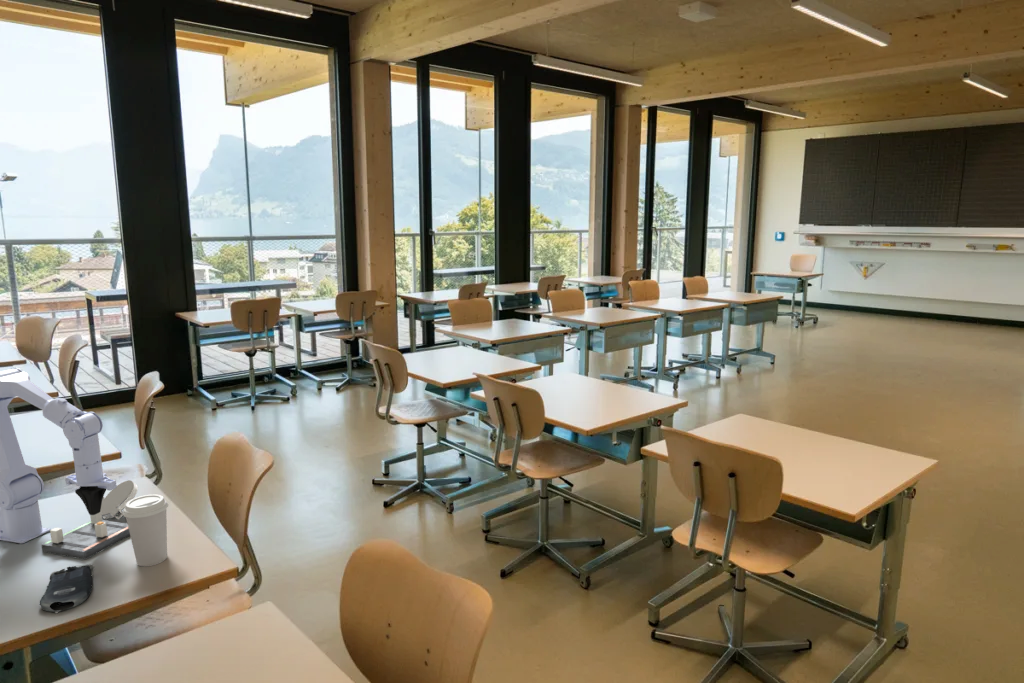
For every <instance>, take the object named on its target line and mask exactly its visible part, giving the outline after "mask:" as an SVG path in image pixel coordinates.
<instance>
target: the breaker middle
mask: <svg viewBox="0 0 1024 683" xmlns="http://www.w3.org/2000/svg"><path fill="white" fill-rule="evenodd" d="M95 532H96V537H104V536H106V535H108V534H107V526H106V523H104V522H98V523H97V524H95Z"/></svg>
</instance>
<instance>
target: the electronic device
mask: <svg viewBox="0 0 1024 683" xmlns="http://www.w3.org/2000/svg"><path fill="white" fill-rule="evenodd" d="M95 567H96V566H94V564H91V563H90V564H85V565H80V566H77V565H73V566H67V567H66V568H61V569H60V570H58V571H52V572H51V573H50V575H49V582H48V585H47V586H46V589H45V592H44V594H43V595H42V597H41V599H40V600H39V606H40V608H41V609H42V610H43V611H46V612H51V613H52V612H54V613H55V614H58V613H59V612H62V611H66V610H70V609H72V608H75V607H77V606H79V605H80V604H82V603H84V602H85V601H87V599H88V598H89V596H90V595H91V593H92V591H93V585H94V582H93V580H94V579H93V578H94V577H93V573H94V571H95ZM54 603H55V606H57V607H65V606H68V605H70V604H73V605H72V606H70V607H68V608H65V609H63V610H62V609H59V610H58V609H57V610H55V609H52V608H51V607H50V606H51V605H52V604H54Z"/></svg>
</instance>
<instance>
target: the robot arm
mask: <svg viewBox="0 0 1024 683" xmlns="http://www.w3.org/2000/svg"><path fill="white" fill-rule="evenodd" d="M17 397H18V398H20V399H22V400H24V401H25V402H27V403H29V404H31V405H32V406H34V407H36V408H38V409H40V410H42V416H43V417H44V418H45V419H46V420H48V421H50V423H53V424H55V425H56V426H57V427H59V428H60V429H62V432H63V435H64V436H65V438H66V439H67V441H68V445H69V447H70V448H71V450H72V457H73V464H74V466H73V467H74V472H75V474H70V475H67V476H65V477H64V480H65V485H67V486H69V485H76V486H78V488H76V489H75V490H74V492H75V494H76V495H77V496H78V498H80V500H81V501H82V502H83V505H84V506H85V508H86V511H87V512H88V515H89V516H90V515H95V514H97V513H99V512H100V510H101V504H102V499H103V497H104V496H105V494H106V491H112V490H113V489H115V488H117V486H118V484H117V480H116V479H111V478H110V477H108V476H107V473H105V472H104V471H103V470H104V469H103V463H102V455H101V448H100V438H99V434H100V433H101V432H102V430H103V427H104V426H103V424H104V423H103V421H102V419H101V417H100V416H99V415H98V414H97V413H96V412H94V411H84V410H83V411H82V409H79V408H78V407H76V406H75V405H73V404H71V403H70V402H68V400H67V399H65V398H62V397H57V398H53V397H52V396H50V395H49V394H48V393H47V392H45V391H44V390H42V389H41V388H40V387H38V386H37V385H36V384H35V383H33V382H32V381H31V378H30V374H28V373H27V372H25V371H24V370H23V369H21V368H19V367H11V368H9V369H5V370H0V541H4V542H10V543H17V544H24V543H26V542H28V541H30V540H34V539H35V538H38V537H40V536H42V535H44V534H46V533H49V532H50V530H52V528H49V527H43V525H42V524H43V523H42V519H41V517H42V516H41V513H40V505H39V500H40V499H41V494H42V493H43V492H44V489H45V484H44V481H43V478H41V476H40V475H39V474H38V473H39V472H38V471H37V468H36V467H33V466H31V465H28V464H26V462H25V460H24V456H23V454H22V450H21V447H20V443H19V441H18V437H17V434H16V432H15V428H14V425H13V422H12V418H11V416H10V412H9V409H8V406H9V405H10V403H11V402H12V401H13V399H15V398H17Z"/></svg>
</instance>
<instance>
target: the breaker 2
mask: <svg viewBox="0 0 1024 683" xmlns="http://www.w3.org/2000/svg"><path fill="white" fill-rule="evenodd" d="M89 516H90V521H91V523H92V524H97V523H98V522H102V520H103V517H102V515H101V510H100V512H99V513H97V514H95V515H89Z"/></svg>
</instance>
